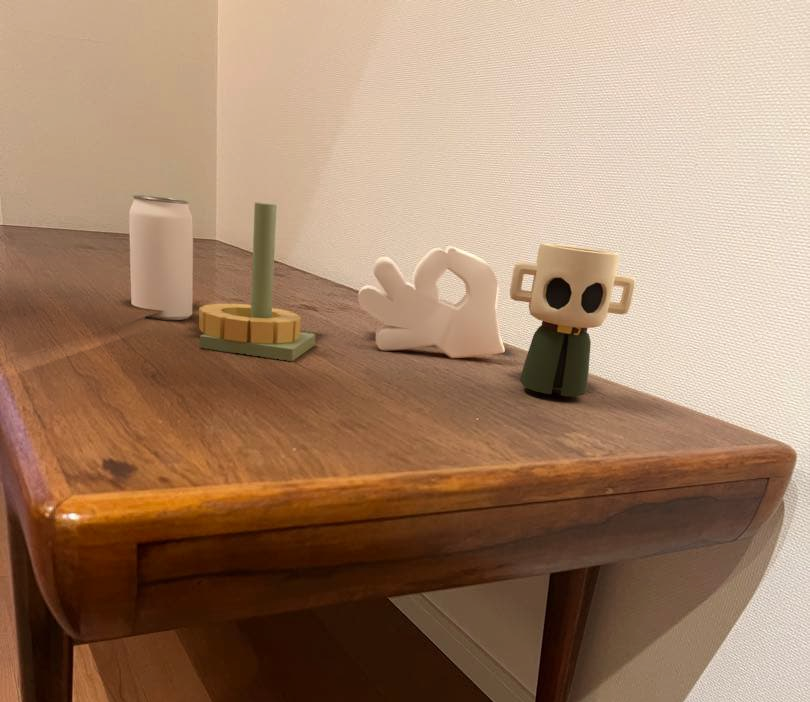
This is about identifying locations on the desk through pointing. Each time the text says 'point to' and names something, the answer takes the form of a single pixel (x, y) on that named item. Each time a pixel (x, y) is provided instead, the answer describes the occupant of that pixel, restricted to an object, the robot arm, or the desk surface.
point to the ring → (248, 324)
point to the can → (161, 256)
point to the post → (262, 295)
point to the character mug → (567, 312)
